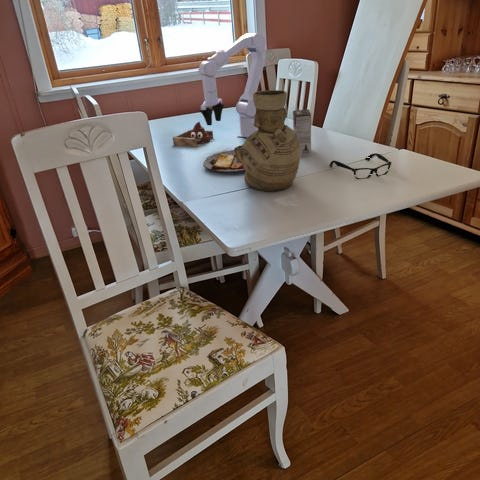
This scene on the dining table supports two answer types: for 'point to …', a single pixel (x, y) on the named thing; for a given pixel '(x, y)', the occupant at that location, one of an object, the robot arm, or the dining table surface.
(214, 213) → the dining table surface
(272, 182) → the ceramic vessel
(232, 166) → the food plate
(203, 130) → the poop emoji
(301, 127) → the coffee box
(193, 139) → the brown u-shaped block
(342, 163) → the glasses
